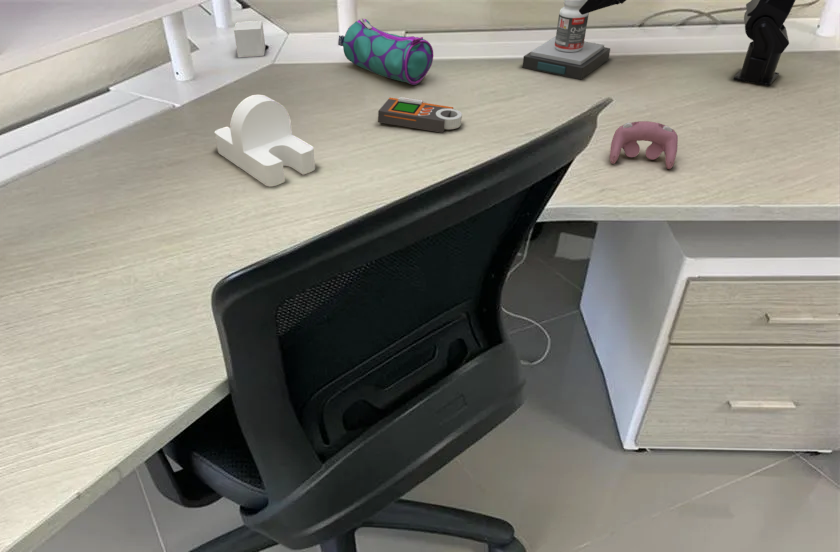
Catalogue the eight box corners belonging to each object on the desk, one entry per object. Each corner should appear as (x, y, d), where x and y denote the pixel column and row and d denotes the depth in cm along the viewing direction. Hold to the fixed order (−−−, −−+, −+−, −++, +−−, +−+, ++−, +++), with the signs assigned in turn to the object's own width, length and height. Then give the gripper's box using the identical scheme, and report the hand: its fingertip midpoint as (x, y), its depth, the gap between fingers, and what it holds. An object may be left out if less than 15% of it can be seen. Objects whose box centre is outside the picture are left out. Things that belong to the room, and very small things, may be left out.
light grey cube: (265, 47, 165) (262, 20, 162) (263, 55, 161) (260, 28, 157) (240, 48, 166) (236, 21, 162) (237, 57, 161) (233, 30, 157)
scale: (551, 49, 154) (553, 34, 152) (608, 59, 147) (611, 44, 145) (521, 68, 146) (523, 52, 144) (580, 80, 140) (582, 64, 137)
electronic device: (457, 121, 123) (376, 108, 127) (455, 137, 125) (376, 123, 129) (466, 106, 127) (388, 94, 132) (465, 121, 129) (388, 109, 134)
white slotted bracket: (269, 188, 113) (260, 124, 106) (215, 151, 125) (204, 91, 118) (318, 169, 117) (312, 106, 110) (261, 134, 129) (253, 76, 122)
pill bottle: (570, 55, 142) (578, 2, 135) (548, 48, 145) (555, -3, 139) (588, 47, 144) (597, -4, 138) (566, 41, 148) (573, -10, 141)
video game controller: (671, 169, 113) (680, 124, 112) (674, 169, 109) (684, 123, 107) (606, 163, 116) (615, 119, 114) (607, 163, 112) (616, 117, 110)
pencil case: (338, 67, 153) (336, 21, 146) (369, 56, 157) (368, 11, 150) (404, 92, 140) (405, 43, 134) (436, 80, 144) (438, 31, 138)
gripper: (633, -102, 133) (564, -39, 143) (624, -81, 120) (550, -14, 130) (667, -55, 135) (597, 4, 146) (663, -30, 122) (587, 32, 133)
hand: (583, 5), depth 139 cm, fingers open, 9 cm apart
